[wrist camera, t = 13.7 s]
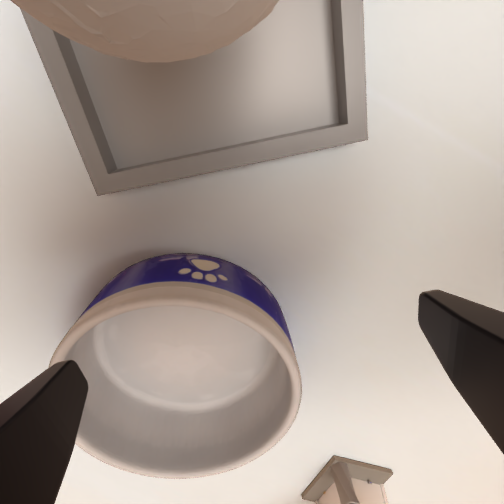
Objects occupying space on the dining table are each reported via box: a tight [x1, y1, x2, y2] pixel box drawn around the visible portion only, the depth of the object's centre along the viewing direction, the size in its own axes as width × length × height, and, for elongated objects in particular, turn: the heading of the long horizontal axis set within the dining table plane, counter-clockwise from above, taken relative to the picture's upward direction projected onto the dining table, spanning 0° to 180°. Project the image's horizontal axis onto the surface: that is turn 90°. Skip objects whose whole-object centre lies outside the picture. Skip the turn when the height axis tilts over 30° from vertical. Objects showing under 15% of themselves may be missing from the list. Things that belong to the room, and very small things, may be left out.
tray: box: [20, 0, 368, 196], centre depth 15 cm, size 15×15×2 cm
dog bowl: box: [49, 253, 302, 479], centre depth 22 cm, size 15×15×6 cm
